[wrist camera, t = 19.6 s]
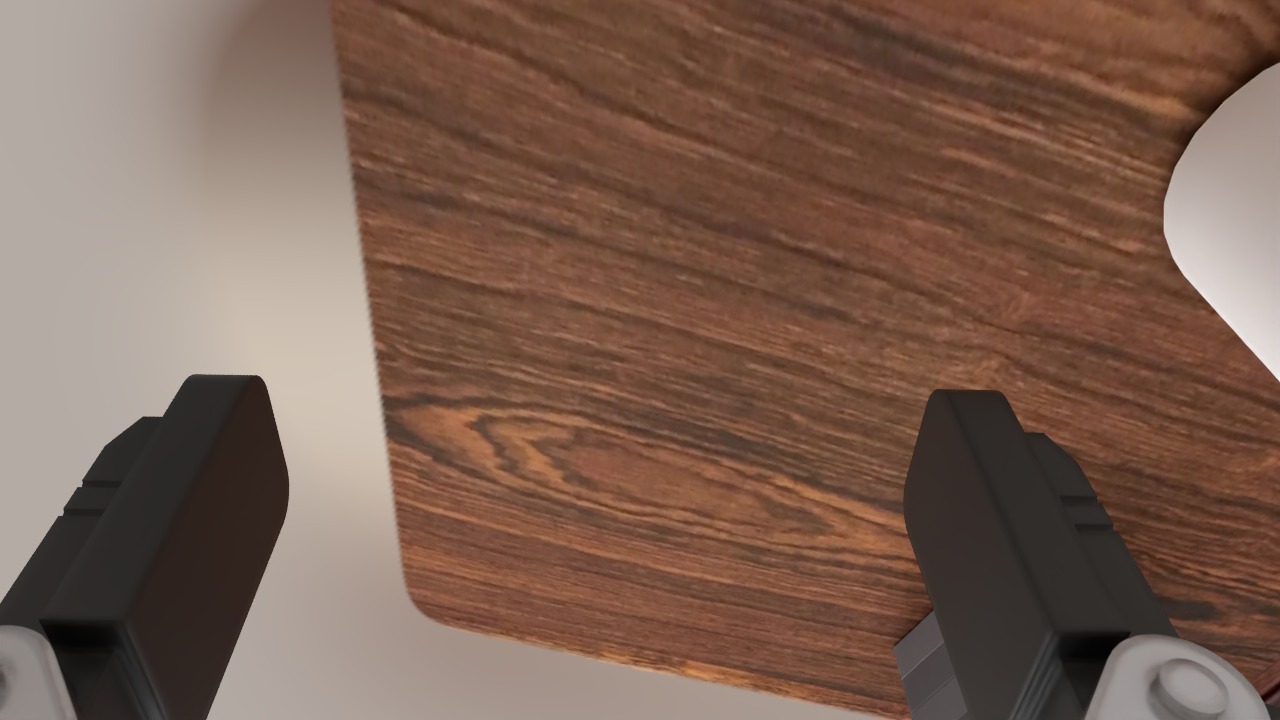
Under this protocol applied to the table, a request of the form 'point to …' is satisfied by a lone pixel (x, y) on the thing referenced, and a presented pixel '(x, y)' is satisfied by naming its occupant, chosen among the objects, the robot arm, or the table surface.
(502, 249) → the table surface
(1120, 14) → the table surface
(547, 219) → the table surface
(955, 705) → the grey rectangular block
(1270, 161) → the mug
